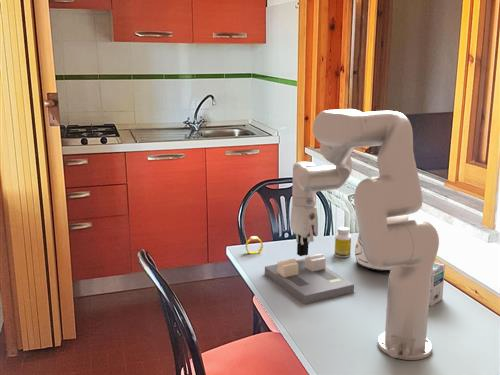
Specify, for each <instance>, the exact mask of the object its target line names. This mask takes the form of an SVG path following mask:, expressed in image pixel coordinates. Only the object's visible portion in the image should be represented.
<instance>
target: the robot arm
mask: <svg viewBox="0 0 500 375" xmlns="http://www.w3.org/2000/svg"><path fill="white" fill-rule="evenodd" d="M312 133H313V136H314V138H315V139H316V141H317V142H318V143H320V146H319V147H320V148H319V149H320V154H321V155H322V157H323V158H324V159H325V160H326V161H327V162H329V163H330V164H331V165H330V164H329V165H328V164H326V165H317V163H314V162H312V161H308V160H307V161H304V160H301V161H297V162H295V163H294V164H293V166H292V185H291V186H292V193H291V194H292V197H291V198H292V200H291V210H290V229H291V231H292V233H293V234H294V235H295V237H296V240H295V241H296V243H297V246H296V247H297V248H296V255H298V256H299V257H304V256H307V255H308V256H309V244H310V243H314V241H315V240H314V237H317V236H318V235H319V219H318V218H319V217H318V208H317V205H316V204H317V192H323V191H333V190H338V189H340V188H341V187H342V186H344V185H345V184H346V182H347V181H348V179H349V178H350V177H351V174H352V171H353V170H352V169H353V161H352V157H351V154H352V153H353V151H354V150H355V149H356V148H369V147H379V146H381V147H380V149H379V151H378V154H377V160H376V163H377V167H378V173H379V176H373V177H368V178H365V179H362V180H360V182H359V183H358V184H357V186H356V188H355V190H354V196H353V198H354V199H353V204H354V210H355V216H356V221H357V227H358V233H359V232H360V238H361V243H362V247H363V251H364V254H365V257H366V259H367V260H368V262H369V263H370V264H371V265H373V266H375V267H389V266H392V268H391V271H389V275H388V281H387V282H388V283H387V296H386V297H387V298H386V315H385V328H384V330H385V331H384V332H383V333H380V335H379V336H378V338H377V345H378V347H379V349H380V350H381V351H382V352H383V353H385V354H386V355H388V356H390V357H391V358H393V359H394V358H396V359H400V360H404V361H405V360H406V361H417V360H423V359H425V358H428V357H429V356H430V355H431V354H432V351H433V343H432V342H431V340H430V339H428V337H427V332H428V330H427V329H428V322H429V321H428V316H429V306H430V305H429V297H430V287H431V277H432V270H433V265H434V262H436V258H437V255H438V250H439V246H440V237H439V234H438V231H437V229H436V228H435V226H433V225H432V224H431V223H430V222H428V221H426V220H421V219H411V220H409V219H408V221H402V222H395V223H390V224H387V218H388V217H395V216H402V215H408V216H409V215H412V214H414V213H417V212H419V210H420V209H422V206H423V193H422V188H421V182H420V176H419V174H418V168H417V167H418V166H417V163H416V159H415V153H414V138H413V137H414V134H413V127H412V124H411V122H410V120H409V118H408V117H407V116H406V115H405V114H404V113H402V112H399V111H396V110H395V111H393V110H376V111H365V112H362V111H361V110H358V109H354V108H345V109H344V108H341V109H328V110H323V111H322V110H321V112H319V113H318V114H317V115H316V116H315V118H314V120H313V124H312Z"/></svg>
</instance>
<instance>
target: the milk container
mask: <svg viewBox="0 0 500 375" xmlns="http://www.w3.org/2000/svg"><path fill="white" fill-rule="evenodd" d="M402 221H409V214H408V215H402V216H395V217H388V218H387V224H390V223H395V222H402ZM357 236H358V237H357V241H356V243H355V247H354V257H355V259H356V262H357V263H358V264H359V265H360V266H362V267H363V268H366V269H367V270H372V271H378V272H390V271H391V268H392V266H389V267H375V266H373V265H371V264H370V263H369V262H368V260H367V259H366V257H365V254H364V251H363V247H362V243H361V238H360V232H359V231H358V235H357Z"/></svg>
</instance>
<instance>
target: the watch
mask: <svg viewBox="0 0 500 375" xmlns="http://www.w3.org/2000/svg"><path fill="white" fill-rule="evenodd" d="M251 241H259V242H260V247H259V249H258V250H257V251H250V250H248V245H249V243H250V242H251ZM263 248H264V245H263V241H262V240H261V239H260V238H259V237H258V236H257V235H253V236H250V237H249V238H248V240H246V242H245V249H246V252H247V253H249V254H250V255H253V254H254V255H255V254H260V253H261V252H262V250H263Z"/></svg>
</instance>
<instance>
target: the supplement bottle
mask: <svg viewBox="0 0 500 375" xmlns="http://www.w3.org/2000/svg"><path fill="white" fill-rule="evenodd" d="M350 230H351V229H350V227H347V226H339V227H337V233H336V234H335V237H334V238H335V240H334V256H335V257H337V258H342V259H345V258H349V257H350V256H351V247H352V246H351V245H352V236H351V234H350Z"/></svg>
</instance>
